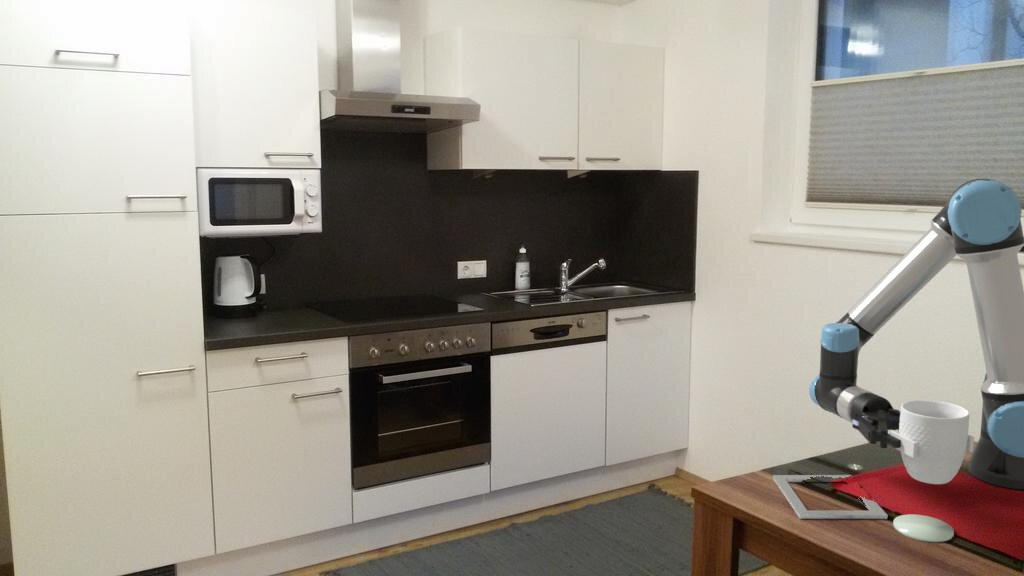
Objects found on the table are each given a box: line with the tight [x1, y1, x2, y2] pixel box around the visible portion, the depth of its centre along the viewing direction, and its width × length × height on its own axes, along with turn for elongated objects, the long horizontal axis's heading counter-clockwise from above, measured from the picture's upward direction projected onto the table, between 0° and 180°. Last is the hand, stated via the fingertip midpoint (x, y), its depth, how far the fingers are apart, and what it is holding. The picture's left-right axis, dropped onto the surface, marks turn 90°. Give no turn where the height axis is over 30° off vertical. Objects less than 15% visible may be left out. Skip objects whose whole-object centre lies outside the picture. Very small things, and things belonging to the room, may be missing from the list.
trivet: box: [892, 513, 955, 543], centre depth 147 cm, size 10×10×1 cm
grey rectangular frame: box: [772, 474, 888, 520], centre depth 161 cm, size 16×20×1 cm
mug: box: [898, 399, 970, 485], centre depth 145 cm, size 15×11×13 cm
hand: (944, 447), depth 140 cm, fingers closed on mug, 11 cm apart
